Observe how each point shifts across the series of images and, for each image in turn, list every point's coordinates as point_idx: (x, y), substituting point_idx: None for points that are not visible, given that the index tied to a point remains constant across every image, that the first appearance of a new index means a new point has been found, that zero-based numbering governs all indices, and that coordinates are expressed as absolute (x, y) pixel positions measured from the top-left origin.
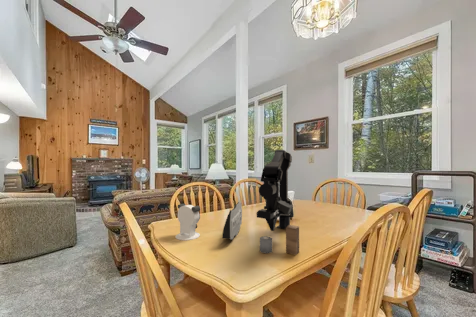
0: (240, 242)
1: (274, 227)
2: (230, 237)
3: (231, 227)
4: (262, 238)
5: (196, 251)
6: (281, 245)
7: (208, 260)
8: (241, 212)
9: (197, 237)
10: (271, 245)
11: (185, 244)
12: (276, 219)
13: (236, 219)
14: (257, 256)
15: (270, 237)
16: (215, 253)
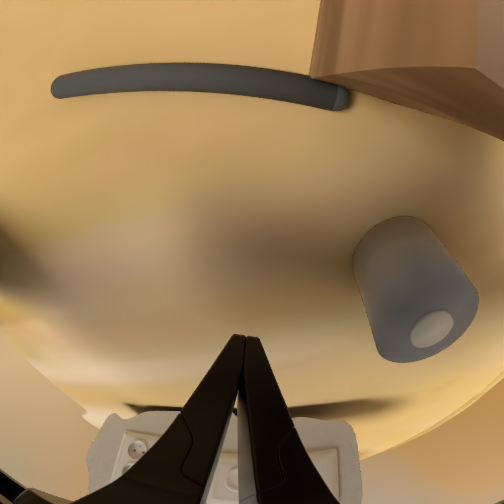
0: (297, 386)
1: (231, 362)
2: (353, 430)
3: (337, 471)
4: (430, 344)
5: (408, 421)
6: (242, 168)
7: (470, 381)
8: (97, 458)
9: None
10: (440, 247)
11: (358, 446)
12: (173, 468)
13: (237, 489)
14: (470, 277)
15: (406, 304)
16: (426, 394)
